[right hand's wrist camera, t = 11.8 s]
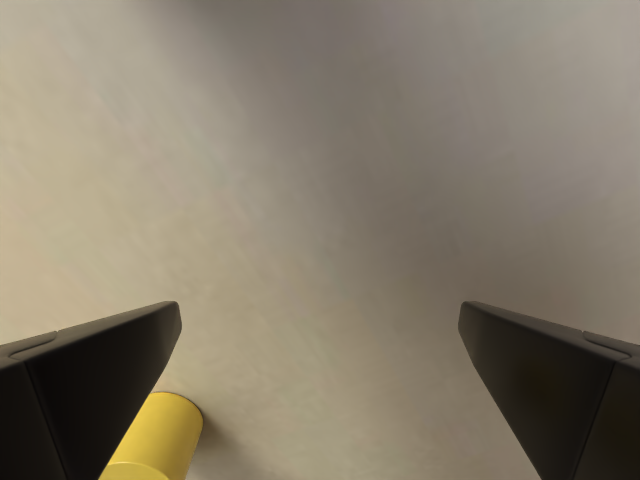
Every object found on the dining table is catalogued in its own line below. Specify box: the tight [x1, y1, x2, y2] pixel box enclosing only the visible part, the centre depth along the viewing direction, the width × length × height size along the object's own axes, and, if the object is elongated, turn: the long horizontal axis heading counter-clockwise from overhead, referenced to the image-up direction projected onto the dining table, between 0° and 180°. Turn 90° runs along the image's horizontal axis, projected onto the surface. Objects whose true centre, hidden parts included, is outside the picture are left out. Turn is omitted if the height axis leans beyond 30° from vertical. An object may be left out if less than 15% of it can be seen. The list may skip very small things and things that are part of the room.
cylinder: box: [98, 392, 203, 480], centre depth 19 cm, size 4×4×4 cm
